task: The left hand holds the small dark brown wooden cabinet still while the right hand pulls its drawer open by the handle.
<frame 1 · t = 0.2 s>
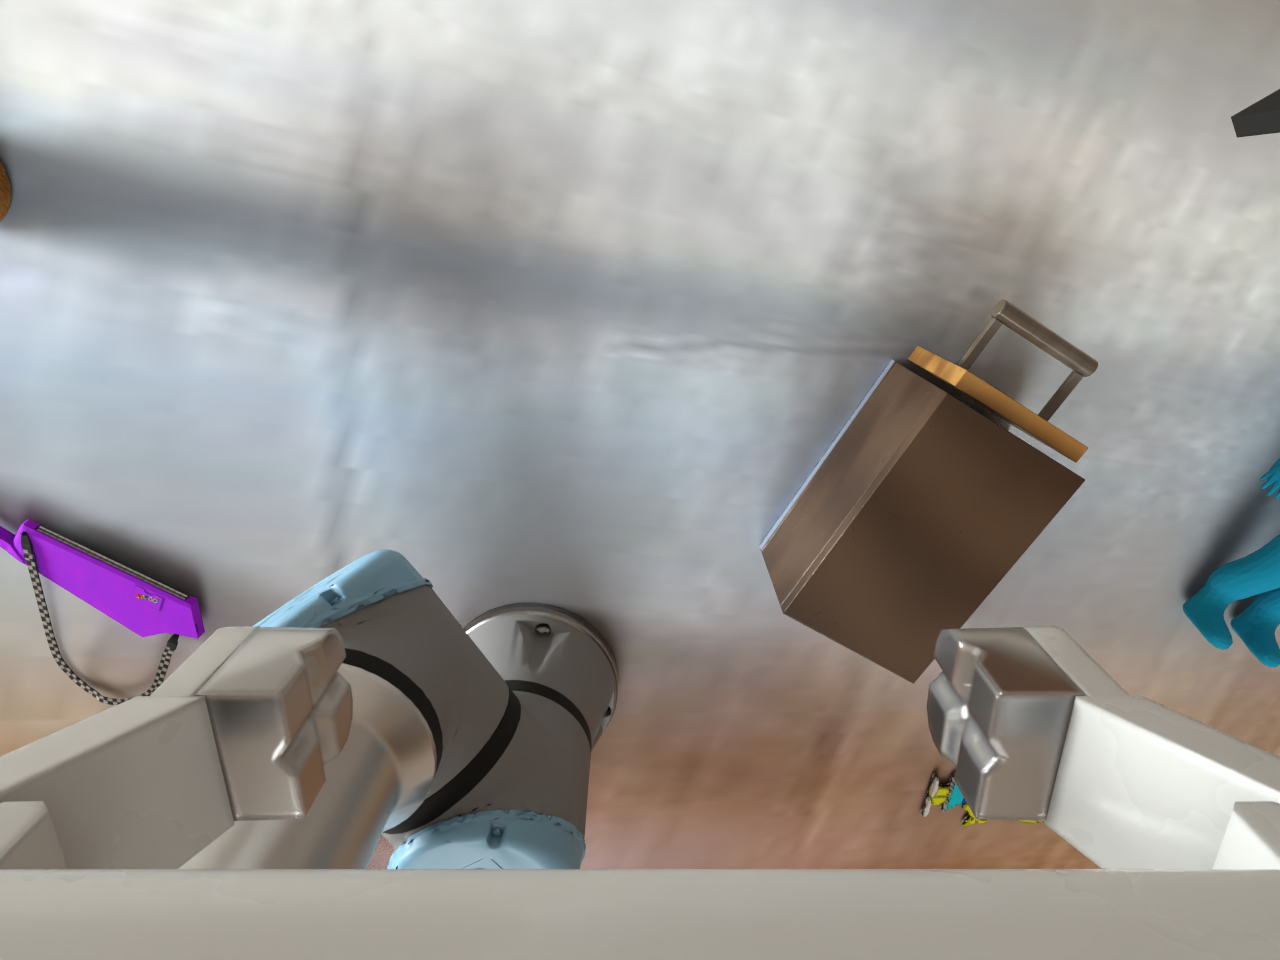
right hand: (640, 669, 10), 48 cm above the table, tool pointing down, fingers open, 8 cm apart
drawer: (945, 461, 54), point 5 cm above the table, slide at 0.6 cm
musical instrument: (65, 595, 64), on the table
cabinet: (880, 490, 61), on the table
toy 2: (1007, 785, 71), on the table
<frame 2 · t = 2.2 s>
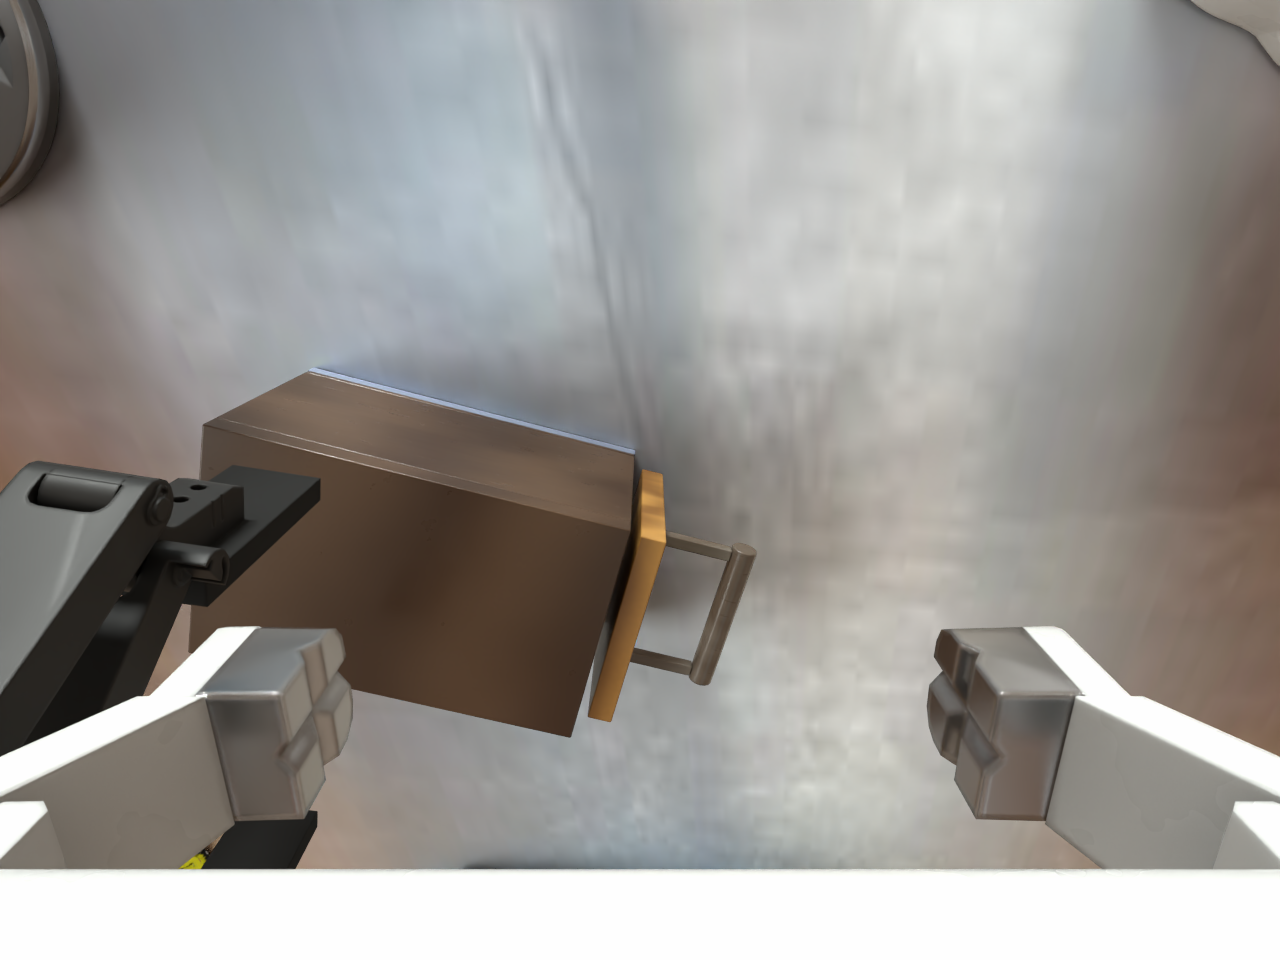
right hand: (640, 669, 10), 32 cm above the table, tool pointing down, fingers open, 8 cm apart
drawer: (529, 564, 39), point 5 cm above the table, slide at 0.6 cm
cabinet: (459, 500, 44), on the table
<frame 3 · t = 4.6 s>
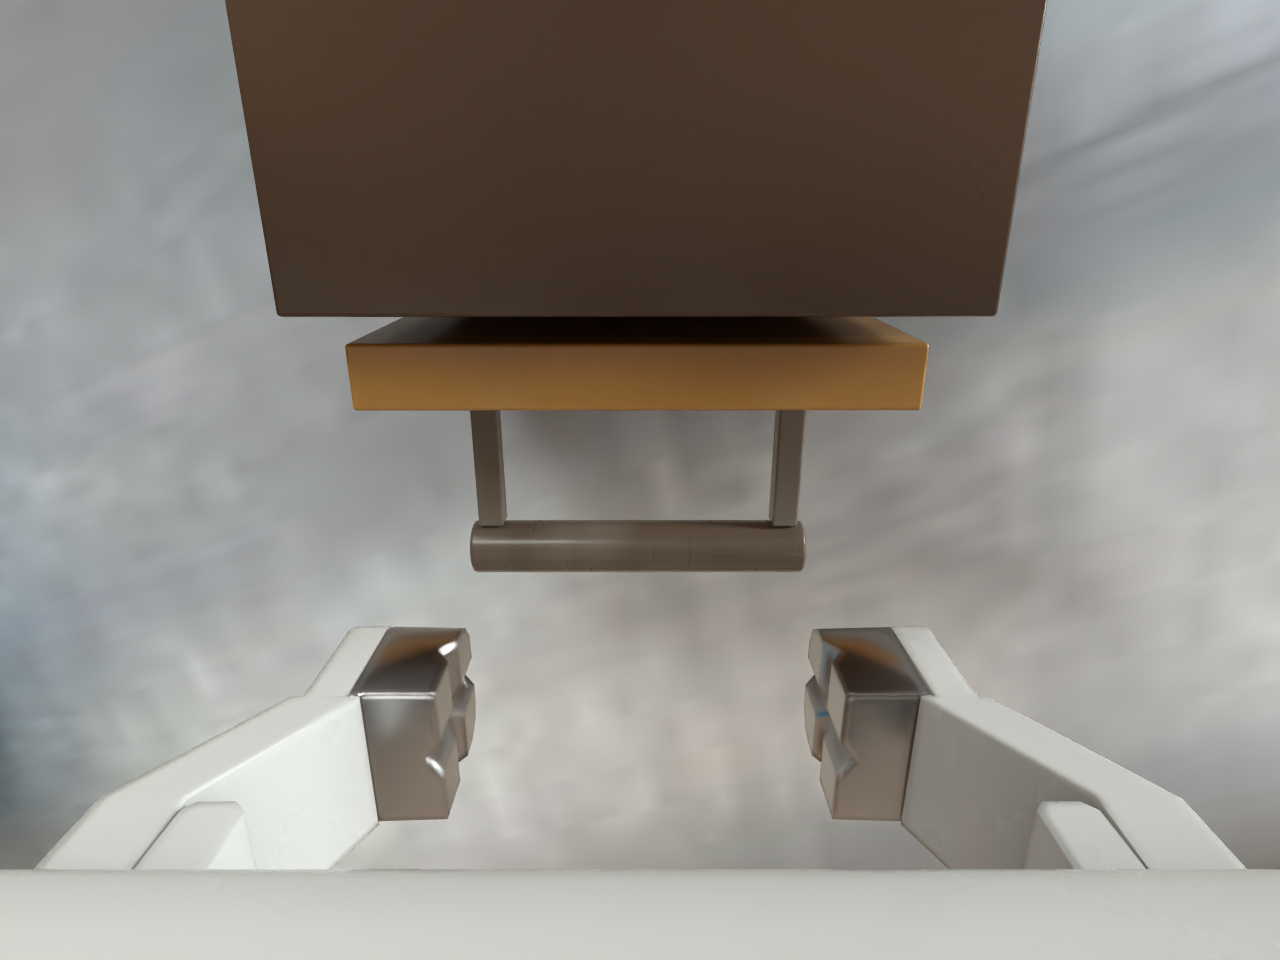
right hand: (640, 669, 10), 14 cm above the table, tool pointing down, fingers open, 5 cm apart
drawer: (637, 82, 16), point 5 cm above the table, slide at 0.6 cm
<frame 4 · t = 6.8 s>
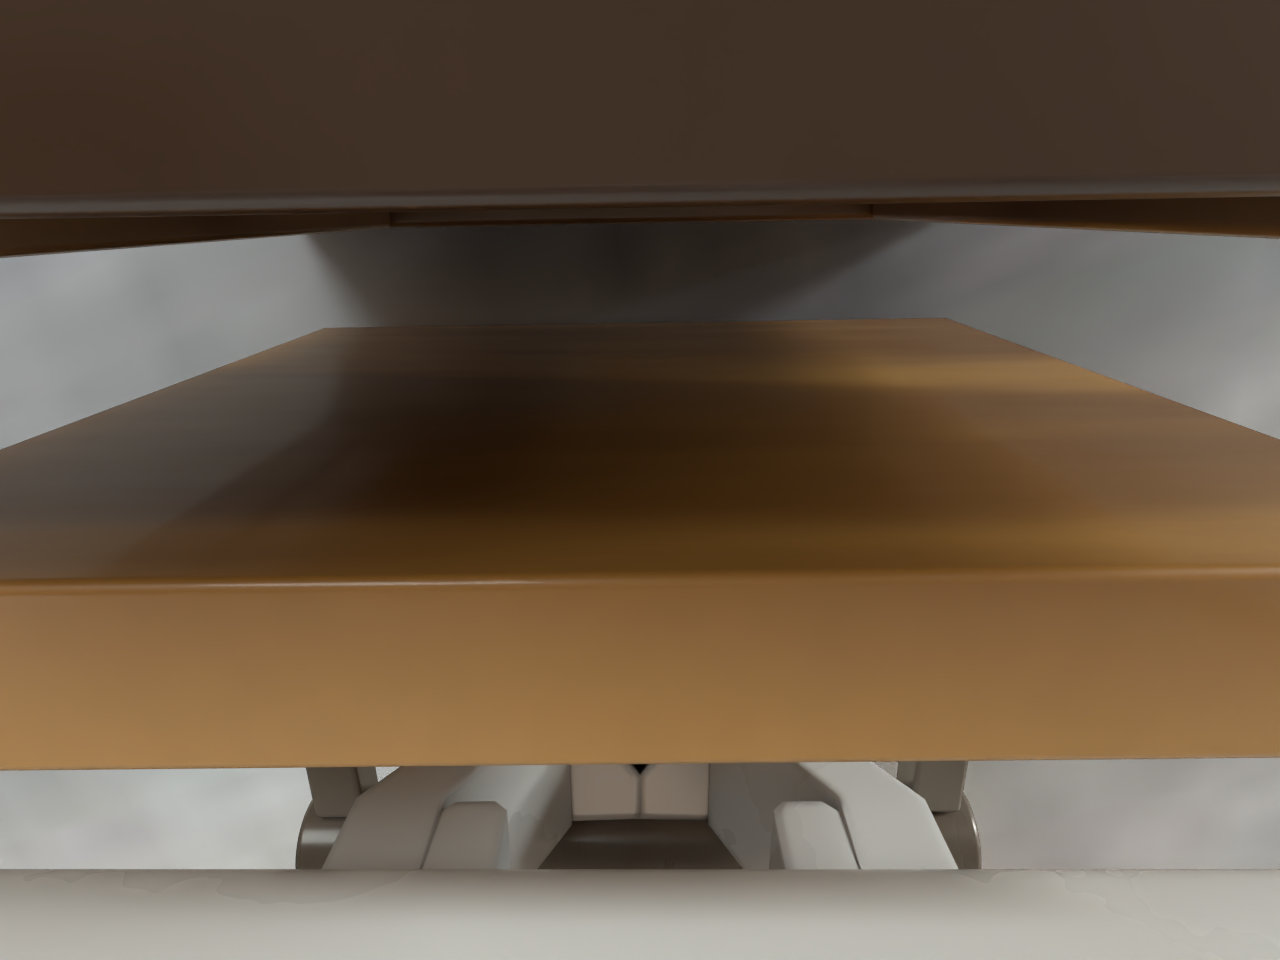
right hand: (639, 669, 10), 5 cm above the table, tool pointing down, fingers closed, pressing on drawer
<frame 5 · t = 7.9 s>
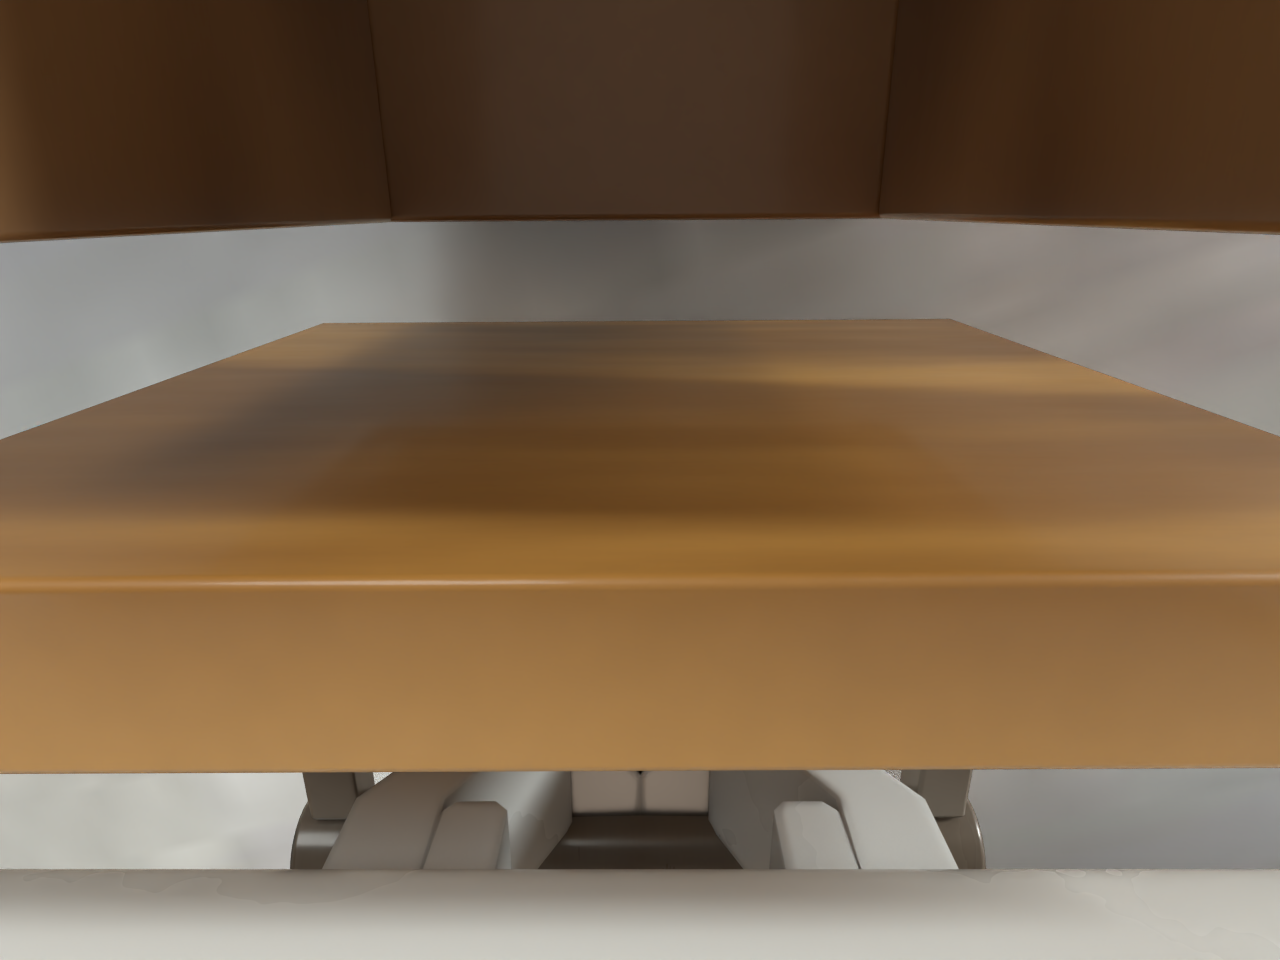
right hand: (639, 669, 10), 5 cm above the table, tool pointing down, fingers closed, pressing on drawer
when the left hand's fingers open (6 cm above the table, at t = 9.6 s): cabinet stays where it is, on the table.
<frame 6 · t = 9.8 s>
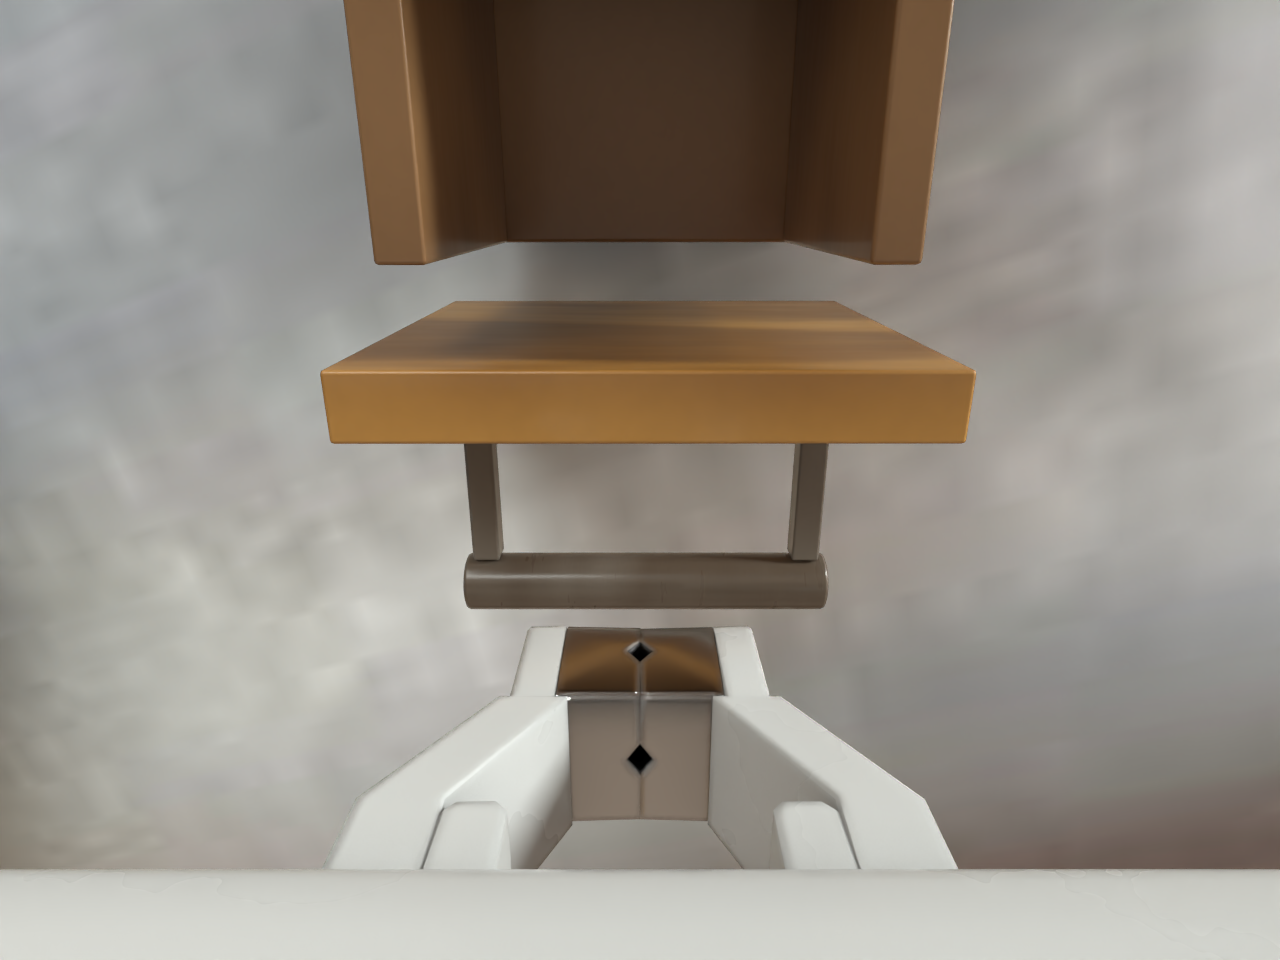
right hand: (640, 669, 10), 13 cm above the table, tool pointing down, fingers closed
drawer: (646, 77, 14), point 5 cm above the table, slide at 8.9 cm
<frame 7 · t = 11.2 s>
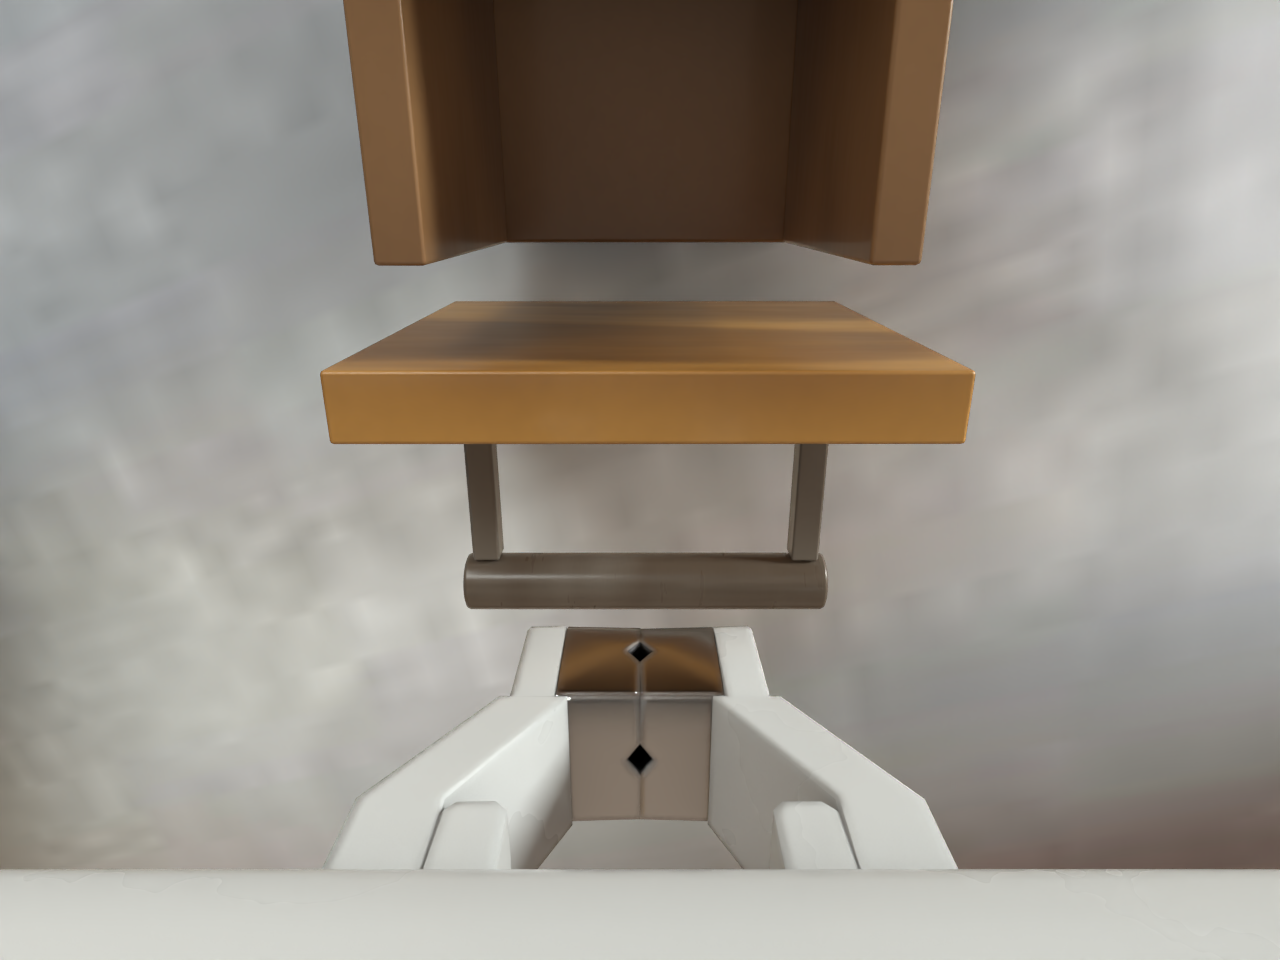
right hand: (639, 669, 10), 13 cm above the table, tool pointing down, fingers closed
drawer: (646, 78, 14), point 5 cm above the table, slide at 8.9 cm
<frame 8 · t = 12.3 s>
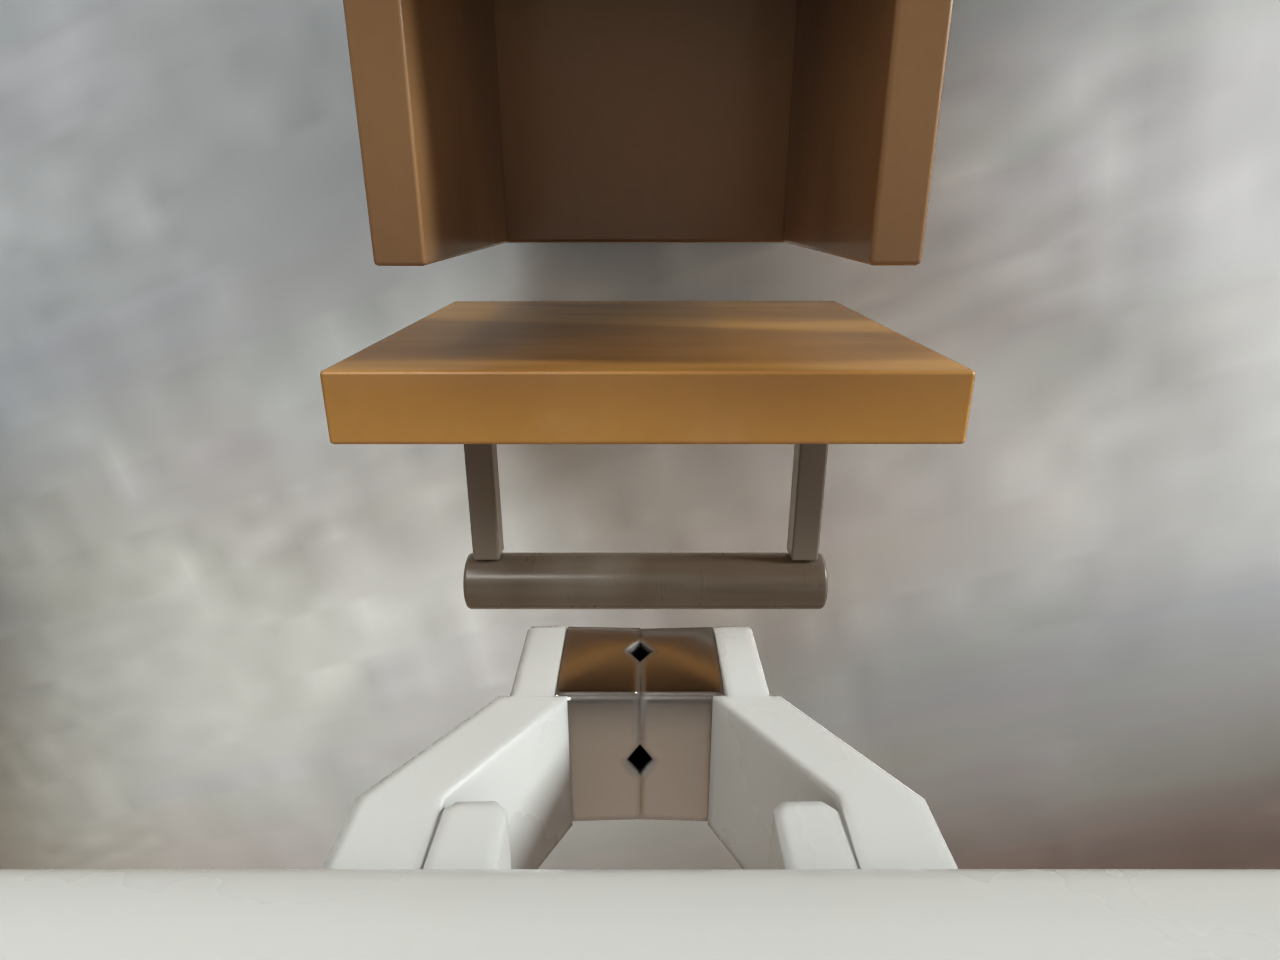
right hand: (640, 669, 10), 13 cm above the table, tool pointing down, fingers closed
drawer: (646, 78, 14), point 5 cm above the table, slide at 8.9 cm
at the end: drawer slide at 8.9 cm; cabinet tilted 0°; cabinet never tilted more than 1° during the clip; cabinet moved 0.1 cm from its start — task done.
